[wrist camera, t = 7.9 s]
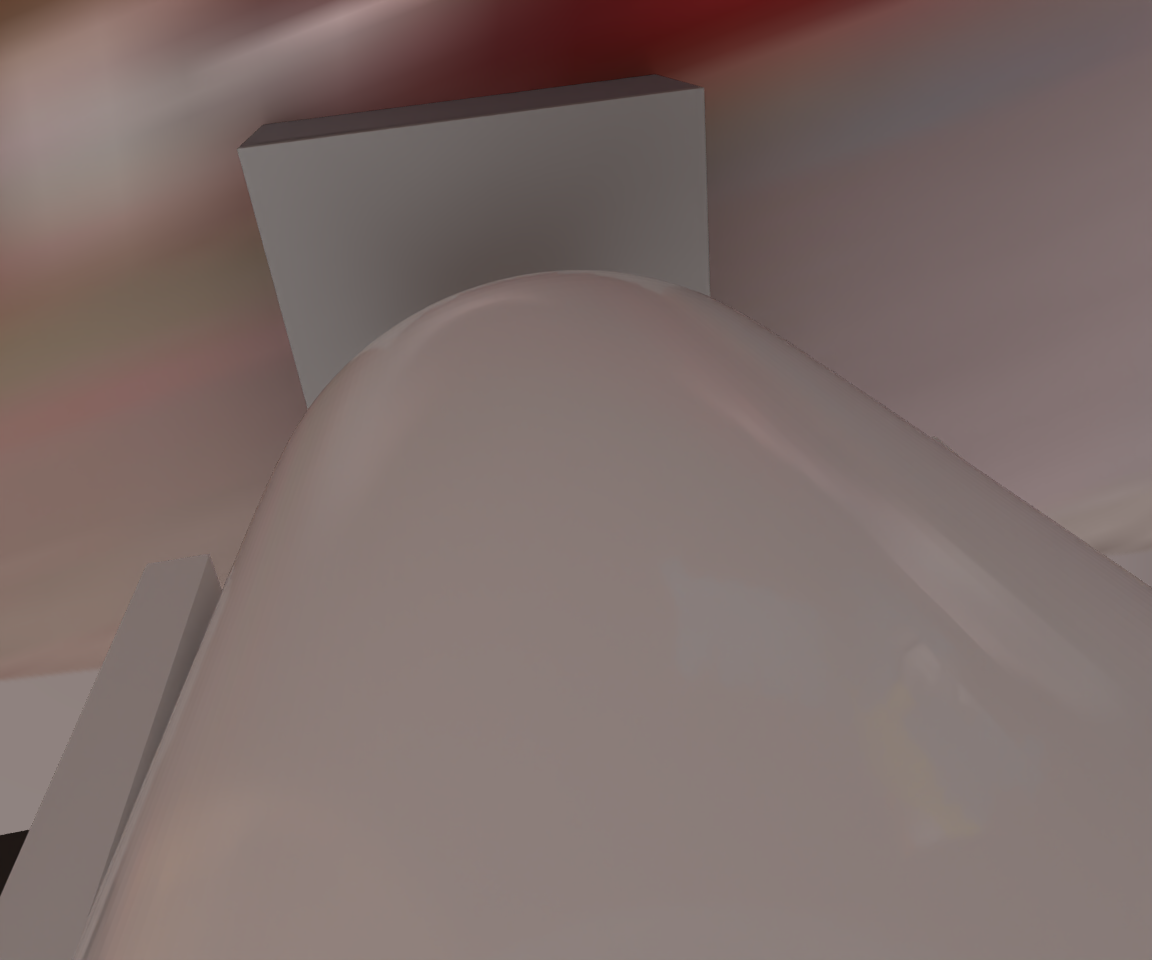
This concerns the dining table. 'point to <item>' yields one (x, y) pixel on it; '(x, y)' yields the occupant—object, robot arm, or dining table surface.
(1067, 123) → the dining table surface
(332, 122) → the block
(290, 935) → the candle holder
